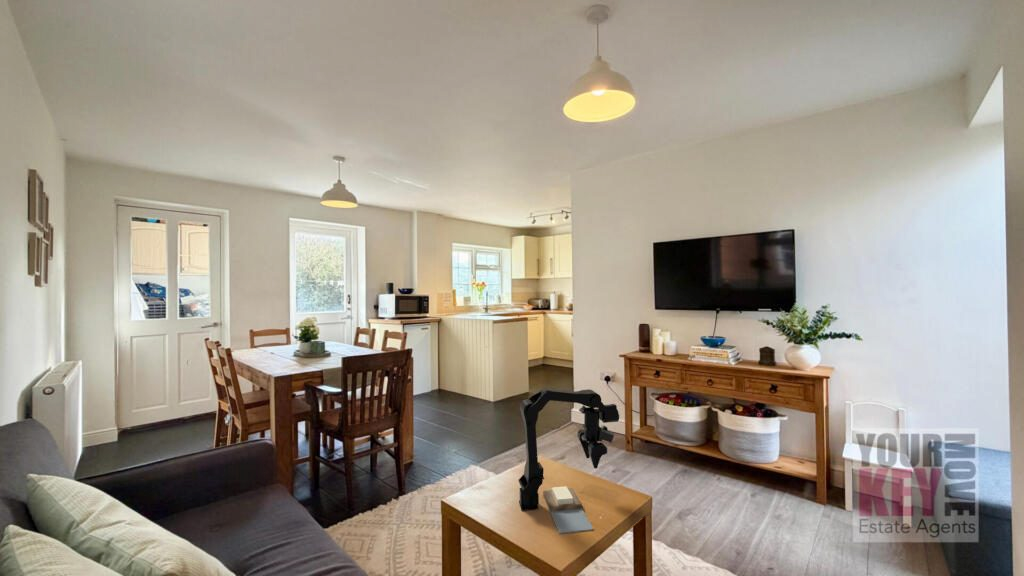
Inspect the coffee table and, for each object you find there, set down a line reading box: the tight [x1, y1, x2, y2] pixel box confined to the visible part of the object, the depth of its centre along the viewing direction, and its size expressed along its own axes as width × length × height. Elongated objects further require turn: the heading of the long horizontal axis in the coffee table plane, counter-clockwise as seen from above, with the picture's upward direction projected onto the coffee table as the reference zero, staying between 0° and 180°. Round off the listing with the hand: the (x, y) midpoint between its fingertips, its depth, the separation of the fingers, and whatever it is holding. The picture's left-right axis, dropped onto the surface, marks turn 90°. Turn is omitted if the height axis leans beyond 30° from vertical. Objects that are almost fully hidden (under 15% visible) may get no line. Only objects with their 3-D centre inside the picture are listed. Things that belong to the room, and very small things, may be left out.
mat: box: [549, 508, 594, 535], centre depth 148 cm, size 12×13×1 cm
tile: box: [551, 485, 573, 505], centre depth 160 cm, size 6×9×2 cm, turn 8°
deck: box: [542, 487, 583, 512], centre depth 161 cm, size 12×12×2 cm
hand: (591, 463), depth 164 cm, fingers open, 9 cm apart
